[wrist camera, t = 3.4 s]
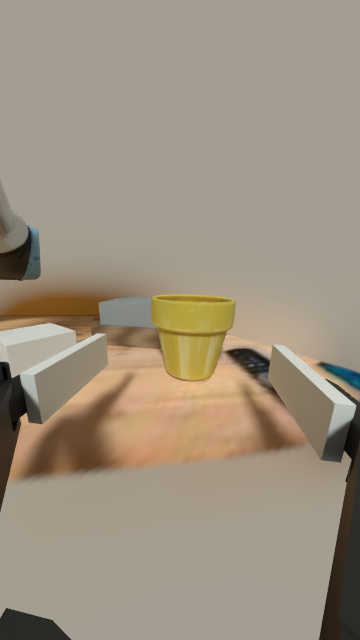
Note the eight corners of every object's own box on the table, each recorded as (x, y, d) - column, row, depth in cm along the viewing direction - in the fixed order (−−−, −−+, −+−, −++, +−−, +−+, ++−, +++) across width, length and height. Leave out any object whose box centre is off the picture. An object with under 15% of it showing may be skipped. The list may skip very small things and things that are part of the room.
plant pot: (196, 348, 32) (199, 292, 30) (245, 375, 24) (254, 300, 22) (140, 362, 27) (138, 294, 24) (178, 402, 18) (181, 305, 16)
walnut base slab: (93, 347, 33) (91, 326, 32) (124, 327, 47) (124, 311, 46) (168, 352, 32) (169, 330, 31) (179, 330, 45) (179, 314, 44)
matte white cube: (18, 405, 17) (5, 346, 16) (-3, 385, 20) (-15, 333, 19) (80, 377, 22) (75, 330, 21) (56, 364, 25) (50, 322, 24)
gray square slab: (100, 324, 33) (98, 302, 33) (128, 312, 45) (127, 296, 44) (164, 328, 32) (164, 305, 31) (176, 315, 43) (176, 298, 42)
